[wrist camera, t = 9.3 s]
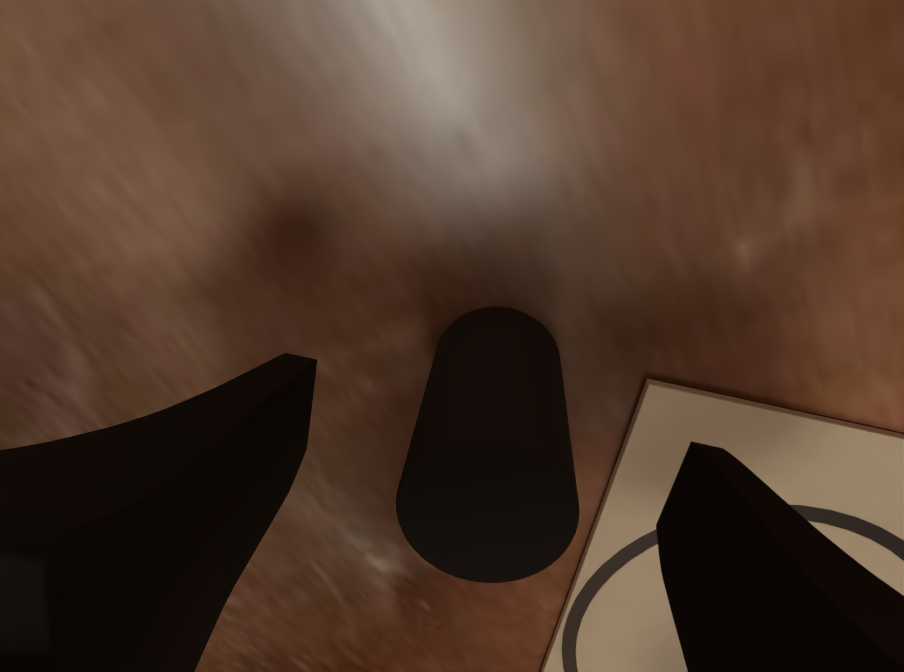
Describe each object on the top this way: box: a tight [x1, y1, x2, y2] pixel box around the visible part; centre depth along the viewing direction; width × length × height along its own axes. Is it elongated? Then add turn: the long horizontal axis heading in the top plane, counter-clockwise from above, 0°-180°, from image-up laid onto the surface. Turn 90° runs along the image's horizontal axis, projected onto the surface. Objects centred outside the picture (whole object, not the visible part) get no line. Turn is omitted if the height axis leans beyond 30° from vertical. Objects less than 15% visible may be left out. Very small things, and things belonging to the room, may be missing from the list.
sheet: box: [540, 379, 904, 672], centre depth 18 cm, size 15×14×1 cm
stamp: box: [396, 307, 579, 583], centre depth 13 cm, size 3×3×6 cm
